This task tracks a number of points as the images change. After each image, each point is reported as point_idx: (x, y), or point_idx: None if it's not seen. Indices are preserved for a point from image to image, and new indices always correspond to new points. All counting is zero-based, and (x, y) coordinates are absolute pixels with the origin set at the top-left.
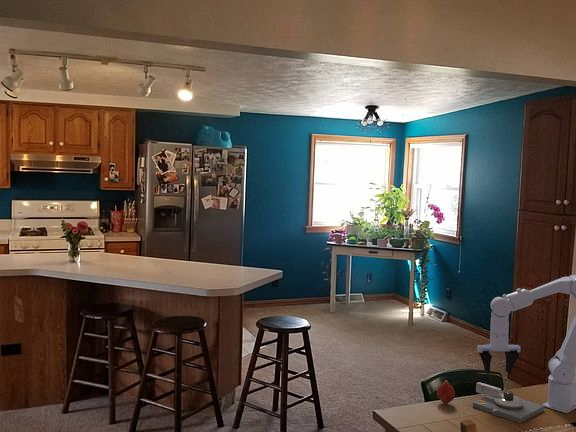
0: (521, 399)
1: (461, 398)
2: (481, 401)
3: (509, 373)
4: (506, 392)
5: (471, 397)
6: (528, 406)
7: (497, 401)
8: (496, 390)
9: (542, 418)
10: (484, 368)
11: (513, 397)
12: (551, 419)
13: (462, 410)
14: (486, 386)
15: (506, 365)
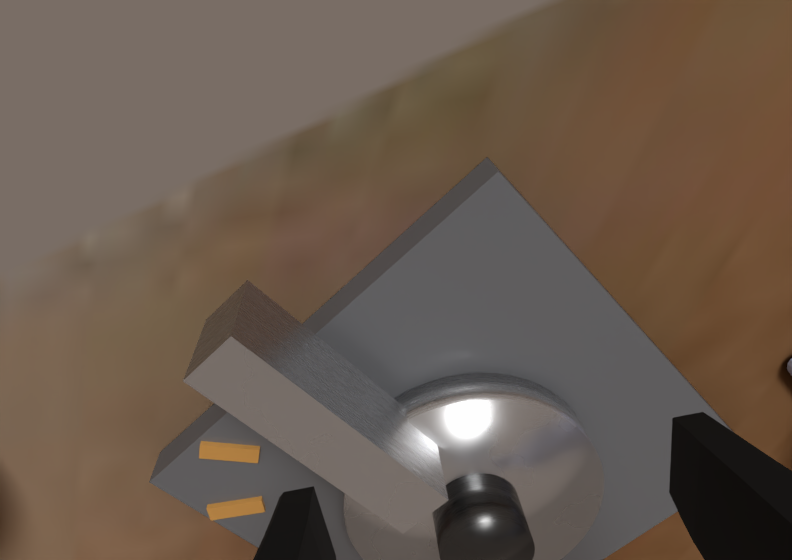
0: (594, 498)
1: (68, 278)
2: (234, 459)
3: (676, 489)
4: (470, 549)
5: (181, 236)
6: (617, 488)
7: (356, 544)
8: (385, 511)
9: (632, 550)
10: (265, 542)
11: (541, 469)
12: (684, 554)
13: (66, 521)
14: (295, 456)
15: (741, 498)
